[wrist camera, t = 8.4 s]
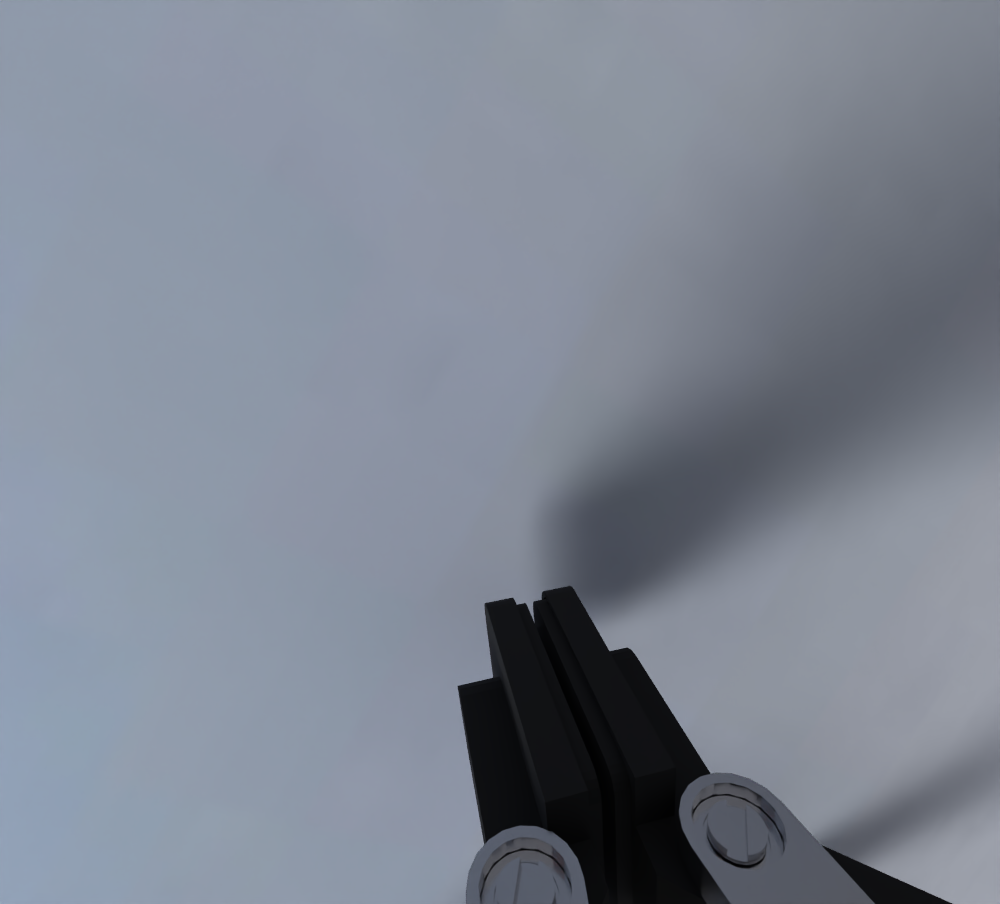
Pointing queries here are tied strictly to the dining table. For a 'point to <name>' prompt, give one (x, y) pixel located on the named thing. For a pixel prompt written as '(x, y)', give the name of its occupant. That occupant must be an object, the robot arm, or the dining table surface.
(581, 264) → the dining table surface
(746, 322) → the dining table surface
